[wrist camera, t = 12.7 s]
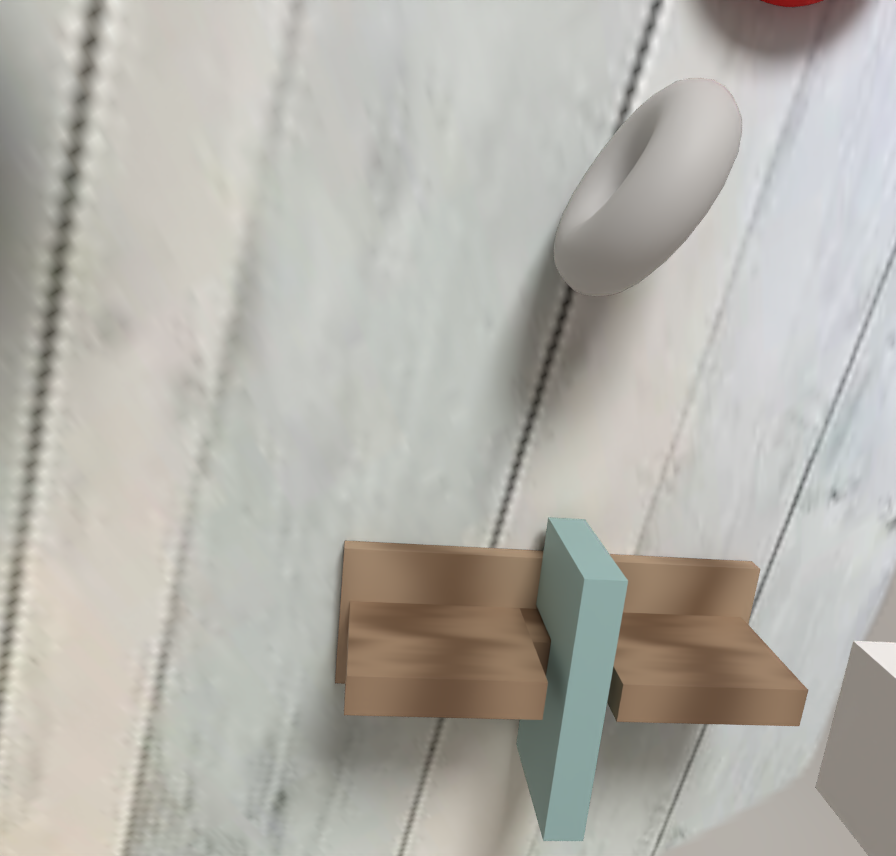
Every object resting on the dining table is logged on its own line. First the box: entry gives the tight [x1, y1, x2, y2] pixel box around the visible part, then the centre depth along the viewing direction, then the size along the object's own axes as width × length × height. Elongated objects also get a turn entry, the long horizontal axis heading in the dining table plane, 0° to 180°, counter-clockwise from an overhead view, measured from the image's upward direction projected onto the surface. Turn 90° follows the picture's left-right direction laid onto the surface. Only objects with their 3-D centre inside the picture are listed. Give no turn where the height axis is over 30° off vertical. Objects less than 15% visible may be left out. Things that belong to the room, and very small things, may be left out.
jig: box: [335, 541, 808, 726], centre depth 40 cm, size 23×8×8 cm, turn 84°
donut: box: [554, 78, 742, 296], centre depth 33 cm, size 10×4×10 cm, turn 147°
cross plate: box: [516, 517, 628, 841], centre depth 40 cm, size 14×2×7 cm, turn 174°
